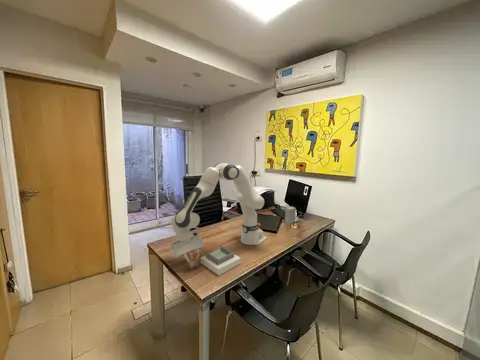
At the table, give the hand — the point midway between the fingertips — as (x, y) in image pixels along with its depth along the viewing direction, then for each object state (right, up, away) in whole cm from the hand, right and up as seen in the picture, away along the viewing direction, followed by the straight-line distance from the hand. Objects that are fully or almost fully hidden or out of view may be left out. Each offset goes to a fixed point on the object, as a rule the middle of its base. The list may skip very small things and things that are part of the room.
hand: (193, 258), depth 123 cm
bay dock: (+16, -5, +6) cm, 18 cm away
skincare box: (+78, +5, +80) cm, 112 cm away
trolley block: (-1, -6, +1) cm, 6 cm away
